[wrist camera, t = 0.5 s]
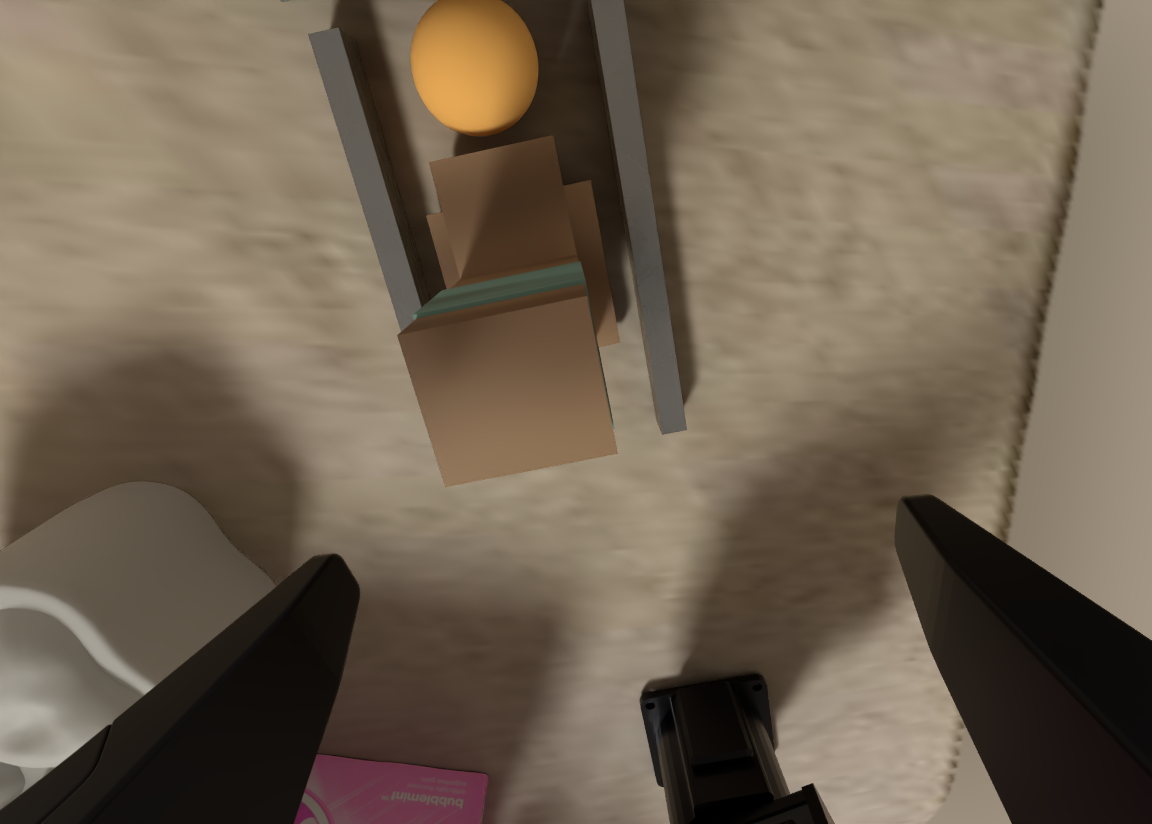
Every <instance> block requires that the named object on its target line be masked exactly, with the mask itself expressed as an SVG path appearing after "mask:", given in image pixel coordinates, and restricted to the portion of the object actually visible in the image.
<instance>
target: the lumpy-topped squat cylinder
mask: <svg viewBox="0 0 1152 824" xmlns="http://www.w3.org/2000/svg"><path fill="white" fill-rule="evenodd" d="M275 587H276V585H275V584H274V582H273V581H272V580H271V579H270V578H269V577H268V576H267V575H266V574H265V573H264V572H263V571H262V570H261V569H260V568H259V567H257V566H256V565H255V564H254V563H252V562H251V561H250V560H249V559H247V558H246V557H245V556H244V555H243V554H241V553H240V552H239V551H238V550H237V549H236V548H235V547H234V546H233V545H232V544H231V543H230V542H229V540H228V539H227V538H226V537H225V535H224V534H223V533H222V531H221V530H220V528H219V527H218V525H217V524H216V523H215V521H214V520H213V518H212V517H211V516H210V514H209V513H208V512H207V511H206V509H205V508H204V507H203V506H202V505H201V504H200V503H199V502H198V501H197V500H196V499H194V498H193V497H192V496H190V495H189V494H187V493H186V492H184V491H182V490H180V489H178V488H175V487H173V486H170V485H166V484H162V483H156V482H147V481H136V482H127V483H122V484H118V485H115V486H112V487H109V488H107V489H105V490H102V491H100V492H98V493H96V494H94V495H92V496H90V497H88V498H86V499H84V500H82V501H79V502H77V503H75V504H73V505H72V506H70V507H68V508H66V509H65V510H63V511H61V512H60V513H58V514H57V515H55V516H53V517H52V518H50V519H49V520H47V521H46V522H44V523H43V524H41V525H39V526H38V527H36V528H35V529H33V530H32V531H30V532H29V533H27V534H25V535H24V536H22V537H21V538H19V539H18V540H16V541H15V542H13V543H11V544H10V545H8V546H7V547H5V548H4V549H2V550H1V551H0V810H1V809H2V808H3V807H5V806H6V805H7V804H8V803H10V802H11V801H12V800H14V799H15V798H16V797H18V796H19V795H20V794H22V793H23V792H24V791H26V790H27V789H28V788H29V787H31V786H32V785H33V784H35V783H36V782H37V781H39V780H40V779H41V778H43V777H44V776H45V775H46V774H48V773H49V772H50V771H51V770H53V769H54V768H55V767H56V766H58V765H59V764H60V763H61V762H63V761H64V760H65V759H66V758H68V757H69V756H70V755H71V754H73V753H74V752H75V751H76V750H78V749H79V748H80V747H81V746H83V745H84V744H85V743H86V742H88V741H89V740H90V739H91V738H92V737H94V736H95V735H96V734H97V733H98V732H100V731H101V730H102V729H103V728H104V727H106V726H107V725H109V724H112V723H113V721H114V720H115V719H116V718H117V717H118V716H119V715H121V714H122V713H123V712H124V711H125V710H127V709H128V708H129V707H130V706H131V705H133V704H134V703H135V702H136V701H138V700H139V699H140V698H141V697H142V696H144V695H145V694H146V693H147V692H149V691H150V690H151V689H152V688H153V687H155V686H156V685H157V684H158V683H160V682H161V681H162V680H163V679H164V678H166V677H167V676H168V675H169V674H170V673H172V672H173V671H174V670H175V669H177V668H178V667H179V666H180V665H181V664H183V663H184V662H185V661H186V660H188V659H189V658H190V657H191V656H192V655H194V654H195V653H196V652H197V651H199V650H200V649H201V648H202V647H203V646H205V645H206V644H207V643H208V642H209V641H211V640H212V639H213V638H214V637H216V636H217V635H218V634H219V633H220V632H222V631H223V630H224V629H225V628H227V627H228V626H229V625H230V624H231V623H233V622H234V621H235V620H236V619H238V618H239V617H240V616H241V615H242V614H244V613H245V612H246V611H247V610H248V609H250V608H251V607H252V606H253V605H255V604H256V603H257V602H258V601H259V600H261V599H262V598H263V597H264V596H266V595H267V594H268V593H269V592H270V591H272V590H273V589H274V588H275Z"/></svg>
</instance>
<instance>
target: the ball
mask: <svg viewBox="0 0 1152 824" xmlns="http://www.w3.org/2000/svg"><path fill="white" fill-rule="evenodd" d="M411 68H412V74H413V78H414V82H415V85H416V88H417V91H418V93H419V95H420V97H421V99H422V100H423V102H424V104H425V105H426V107H427V108H428V109H429V110H430V112H431V113H432V114H433V115H434V116H435V117H436V118H437V119H438V120H439V121H440V122H442V123H443V124H444V125H446V126H447V127H449V128H450V129H452V130H454V131H457V132H459V133H462V134H465V135H470V136H490V135H495V134H498V133H501V132H503V131H505V130H507V129H508V128H510V127H511V126H513V125H514V124H515V123H516V122H518V121H519V120H520V119H521V117H522V116H523V115H524V114H525V112H526V111H527V109H528V108H529V106H530V104H531V102H532V100H533V97H534V94H535V91H536V87H537V82H538V57H537V52H536V48H535V44H534V41H533V39H532V36H531V34H530V32H529V30H528V28H527V26H526V25H525V23H524V22H523V20H522V19H521V17H520V16H519V15H518V14H517V13H516V12H515V11H514V10H513V9H512V8H511V7H510V6H509V5H508V4H506V3H505V2H503V1H502V0H438V1H437V2H435V3H434V4H433V5H432V6H431V7H430V8H429V9H428V10H427V11H426V13H425V14H424V15H423V16H422V18H421V20H420V22H419V23H418V26H417V28H416V30H415V33H414V37H413V40H412V47H411Z"/></svg>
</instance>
